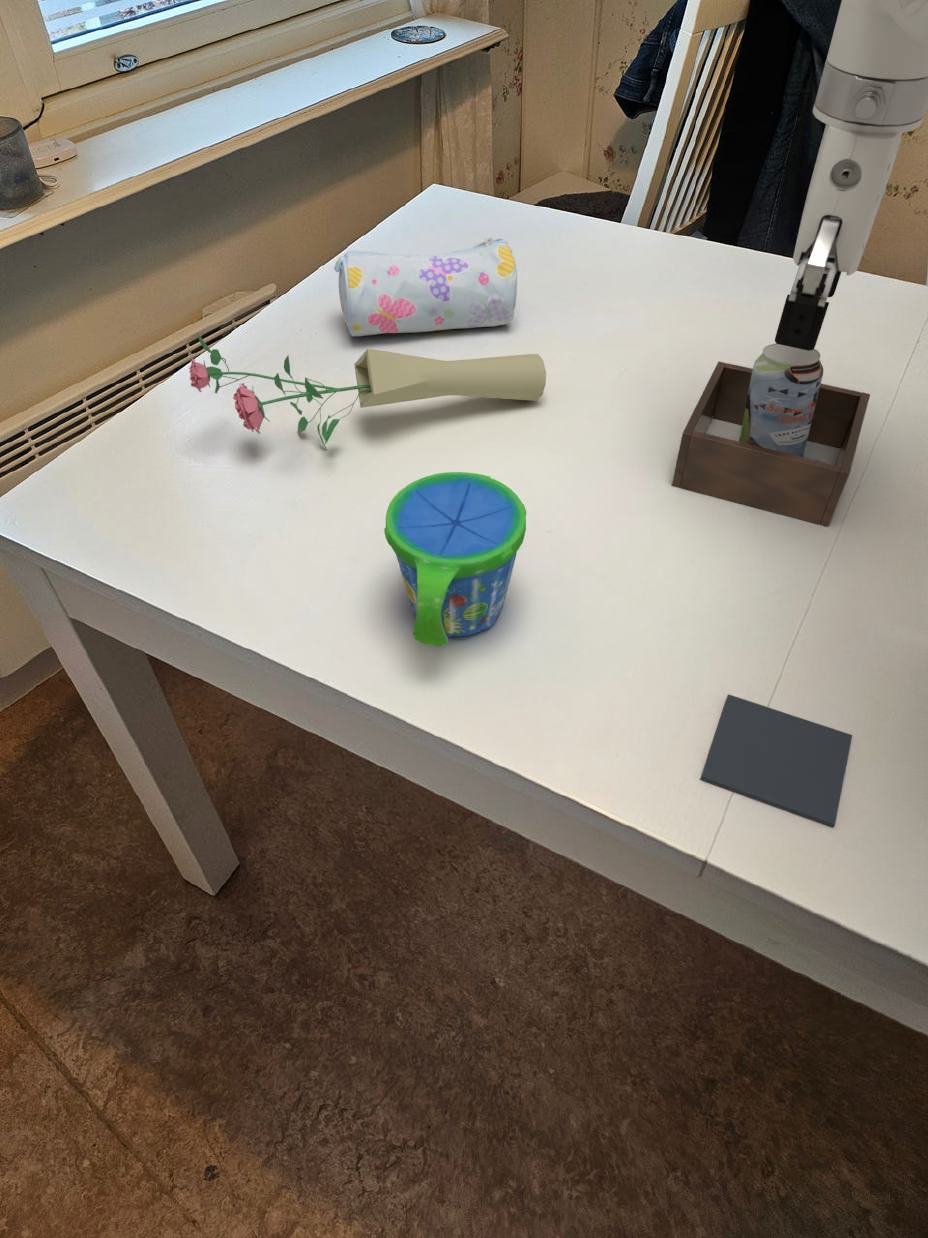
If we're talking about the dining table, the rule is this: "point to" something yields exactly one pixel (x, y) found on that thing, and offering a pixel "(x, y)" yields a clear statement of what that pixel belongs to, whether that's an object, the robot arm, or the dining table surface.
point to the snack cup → (455, 550)
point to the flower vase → (392, 382)
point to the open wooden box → (769, 452)
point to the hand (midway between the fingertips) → (804, 318)
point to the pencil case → (428, 289)
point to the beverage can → (782, 399)
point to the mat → (779, 759)
